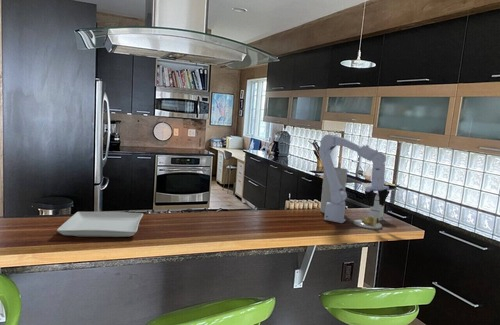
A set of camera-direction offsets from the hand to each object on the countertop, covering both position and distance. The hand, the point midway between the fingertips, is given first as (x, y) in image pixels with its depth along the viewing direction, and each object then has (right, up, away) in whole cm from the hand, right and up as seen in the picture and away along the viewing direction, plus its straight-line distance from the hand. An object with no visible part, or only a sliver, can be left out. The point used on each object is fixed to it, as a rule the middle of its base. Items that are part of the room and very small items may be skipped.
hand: (376, 205), depth 169 cm
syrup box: (+7, -10, +20) cm, 23 cm away
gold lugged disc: (-3, -9, +3) cm, 10 cm away
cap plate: (-3, -10, +4) cm, 12 cm away
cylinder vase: (-15, -8, +27) cm, 32 cm away
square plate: (-119, -6, -30) cm, 122 cm away
